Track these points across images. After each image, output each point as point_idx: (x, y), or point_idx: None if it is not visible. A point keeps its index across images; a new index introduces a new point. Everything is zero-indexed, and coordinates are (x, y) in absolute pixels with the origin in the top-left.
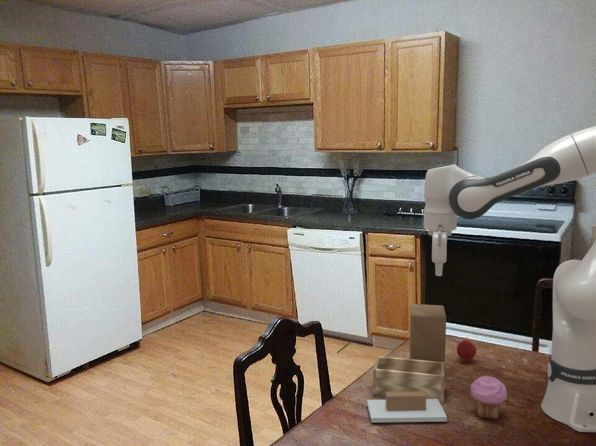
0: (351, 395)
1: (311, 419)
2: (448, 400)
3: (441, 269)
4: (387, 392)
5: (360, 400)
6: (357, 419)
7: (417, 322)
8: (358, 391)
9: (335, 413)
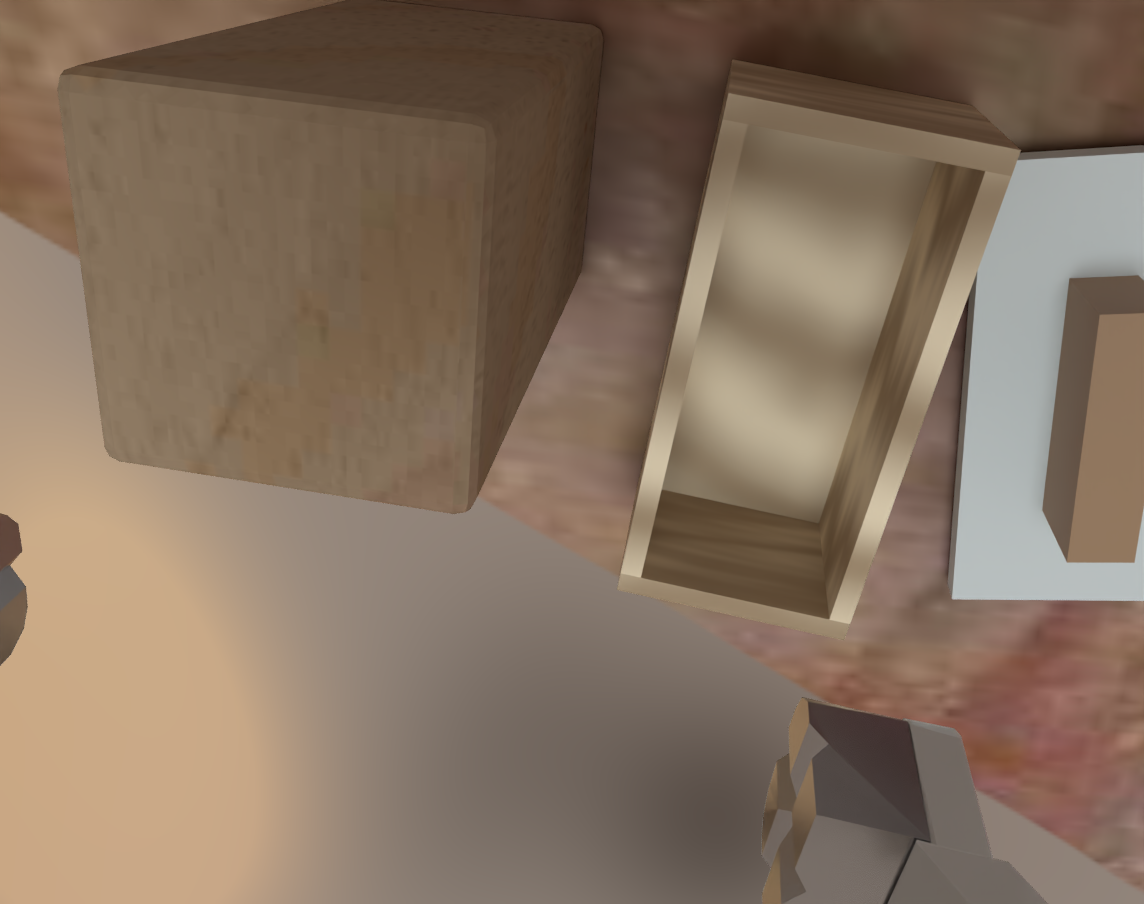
0: (812, 639)
1: (1051, 825)
2: (917, 56)
3: (1017, 895)
4: (1077, 554)
5: (874, 601)
6: (1086, 635)
7: (494, 419)
8: None
9: (1006, 726)
